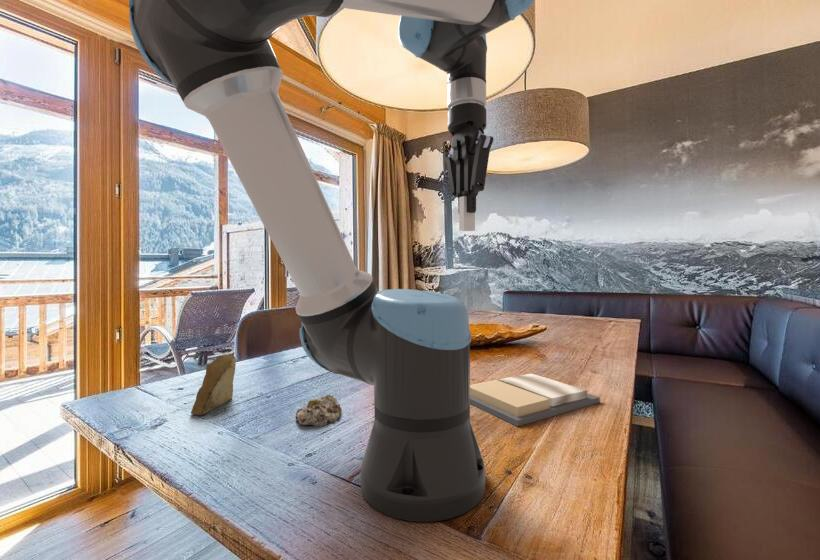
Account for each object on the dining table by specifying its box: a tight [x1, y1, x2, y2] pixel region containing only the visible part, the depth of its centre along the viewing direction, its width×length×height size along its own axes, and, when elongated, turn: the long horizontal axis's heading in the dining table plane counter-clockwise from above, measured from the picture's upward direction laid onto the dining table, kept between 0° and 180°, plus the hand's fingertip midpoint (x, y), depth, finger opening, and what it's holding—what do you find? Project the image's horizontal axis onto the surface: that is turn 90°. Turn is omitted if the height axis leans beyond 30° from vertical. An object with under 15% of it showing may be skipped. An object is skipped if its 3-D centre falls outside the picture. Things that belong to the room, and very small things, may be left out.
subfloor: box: [470, 379, 601, 427], centre depth 74 cm, size 22×16×3 cm
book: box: [497, 372, 588, 407], centre depth 76 cm, size 10×14×2 cm
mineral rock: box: [294, 394, 342, 427], centre depth 68 cm, size 11×4×8 cm
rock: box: [190, 353, 237, 416], centre depth 73 cm, size 11×9×10 cm
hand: (467, 230), depth 73 cm, fingers closed
